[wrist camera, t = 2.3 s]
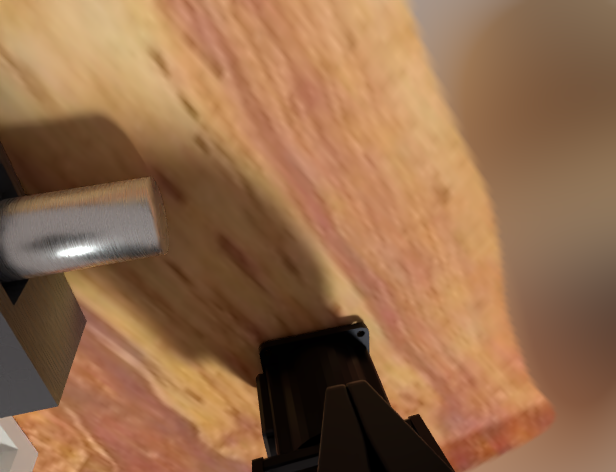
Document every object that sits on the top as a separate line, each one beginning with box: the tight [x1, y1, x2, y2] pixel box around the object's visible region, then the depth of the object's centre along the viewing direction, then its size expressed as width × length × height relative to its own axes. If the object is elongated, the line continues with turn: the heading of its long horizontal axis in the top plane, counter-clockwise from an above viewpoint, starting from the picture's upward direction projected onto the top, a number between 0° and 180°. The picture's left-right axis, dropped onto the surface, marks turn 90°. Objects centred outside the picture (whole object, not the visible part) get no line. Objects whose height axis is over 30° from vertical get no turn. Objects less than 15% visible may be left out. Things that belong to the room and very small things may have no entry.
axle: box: [0, 176, 169, 283], centre depth 17 cm, size 12×3×3 cm, turn 95°
